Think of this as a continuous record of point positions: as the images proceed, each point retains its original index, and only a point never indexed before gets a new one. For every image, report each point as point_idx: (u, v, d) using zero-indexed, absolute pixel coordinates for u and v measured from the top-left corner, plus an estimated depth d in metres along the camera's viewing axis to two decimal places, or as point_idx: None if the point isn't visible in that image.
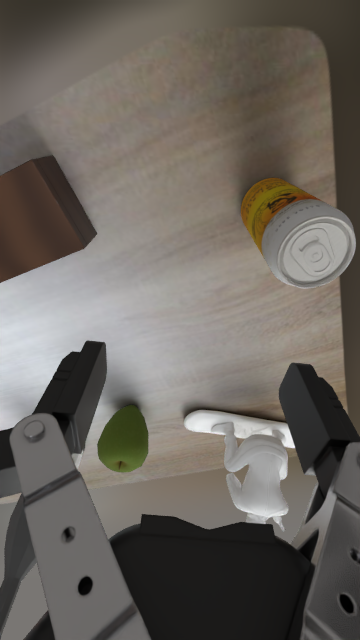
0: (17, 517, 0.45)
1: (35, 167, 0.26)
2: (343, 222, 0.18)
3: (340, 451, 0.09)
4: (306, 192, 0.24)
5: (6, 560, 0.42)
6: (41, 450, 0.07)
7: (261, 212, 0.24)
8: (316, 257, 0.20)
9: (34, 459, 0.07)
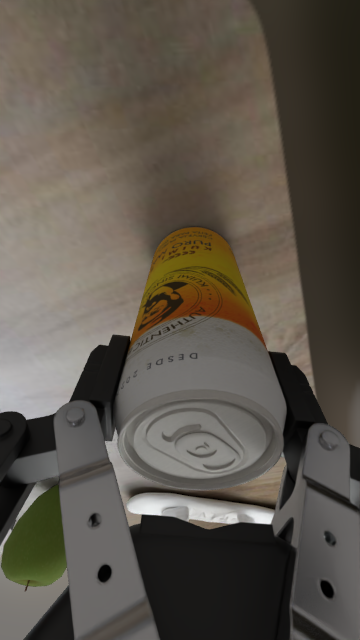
0: None
1: None
2: (247, 407, 0.08)
3: (305, 432, 0.09)
4: (221, 274, 0.13)
5: None
6: (80, 435, 0.08)
7: (140, 310, 0.13)
8: (202, 452, 0.09)
9: (78, 442, 0.08)
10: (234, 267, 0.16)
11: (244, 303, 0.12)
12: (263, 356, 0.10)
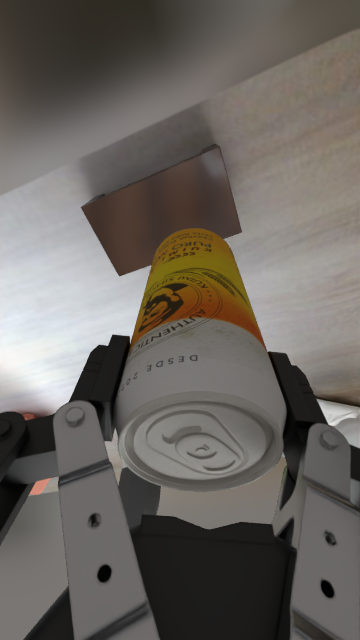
0: (125, 495, 0.47)
1: (220, 153, 0.28)
2: (247, 409, 0.08)
3: (306, 432, 0.09)
4: (221, 275, 0.13)
5: None
6: (79, 434, 0.08)
7: (140, 311, 0.13)
8: (202, 454, 0.09)
9: (78, 442, 0.08)
10: (234, 268, 0.16)
11: (244, 305, 0.12)
12: (263, 358, 0.10)
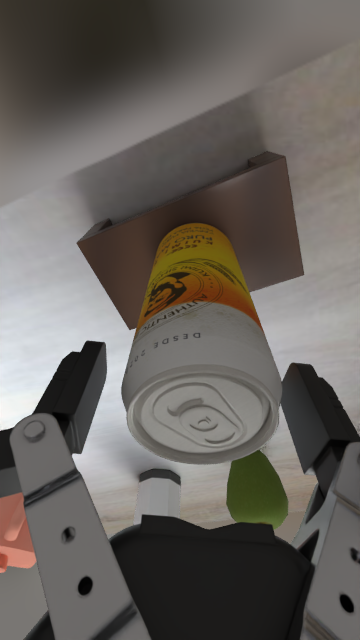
0: None
1: (286, 167, 0.18)
2: (246, 380, 0.08)
3: (340, 451, 0.09)
4: (222, 265, 0.14)
5: None
6: (41, 450, 0.07)
7: (145, 299, 0.14)
8: (204, 426, 0.10)
9: (34, 459, 0.07)
10: (234, 260, 0.16)
11: (243, 292, 0.13)
12: (260, 338, 0.10)
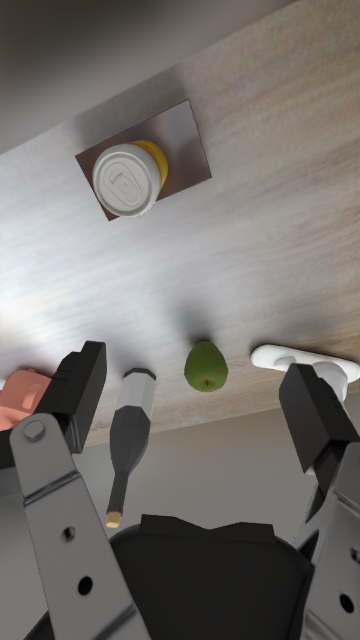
0: (118, 428, 0.52)
1: (190, 105, 0.33)
2: (134, 156, 0.23)
3: (340, 451, 0.09)
4: (145, 144, 0.29)
5: (114, 460, 0.49)
6: (41, 449, 0.07)
7: None
8: (124, 188, 0.25)
9: (34, 459, 0.07)
10: (157, 151, 0.31)
11: (151, 152, 0.28)
12: (149, 156, 0.25)
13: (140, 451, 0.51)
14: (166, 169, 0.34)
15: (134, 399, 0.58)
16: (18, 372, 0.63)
